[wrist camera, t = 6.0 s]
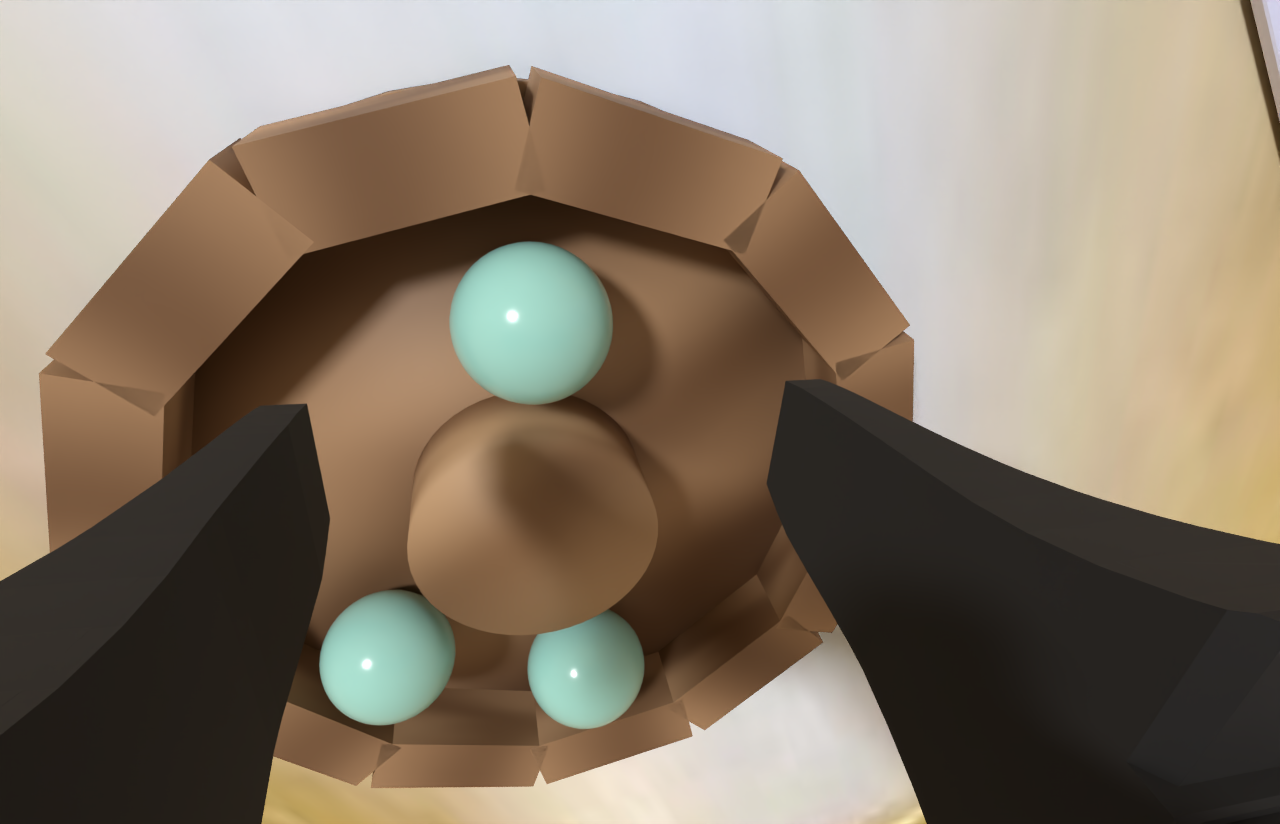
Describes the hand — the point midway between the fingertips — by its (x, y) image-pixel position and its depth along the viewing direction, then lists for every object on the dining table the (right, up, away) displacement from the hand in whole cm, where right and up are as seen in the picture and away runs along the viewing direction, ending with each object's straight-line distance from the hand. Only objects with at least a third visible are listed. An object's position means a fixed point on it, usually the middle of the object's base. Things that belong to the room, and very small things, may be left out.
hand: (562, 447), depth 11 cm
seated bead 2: (-1, -6, +11) cm, 13 cm away
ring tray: (-2, -1, +9) cm, 9 cm away
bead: (-1, +3, +5) cm, 7 cm away
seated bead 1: (-6, -5, +9) cm, 12 cm away
